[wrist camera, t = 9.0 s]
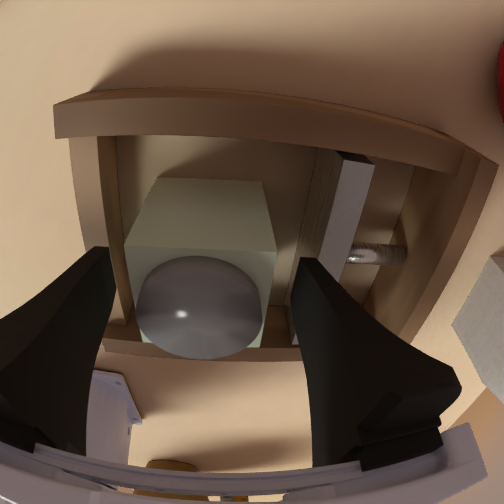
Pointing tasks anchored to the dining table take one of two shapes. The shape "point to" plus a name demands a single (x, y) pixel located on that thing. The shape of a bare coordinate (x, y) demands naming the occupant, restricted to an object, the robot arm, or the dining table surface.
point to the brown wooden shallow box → (294, 132)
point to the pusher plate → (338, 220)
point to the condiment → (234, 498)
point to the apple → (501, 80)
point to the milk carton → (485, 326)
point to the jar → (202, 266)
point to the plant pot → (175, 467)
